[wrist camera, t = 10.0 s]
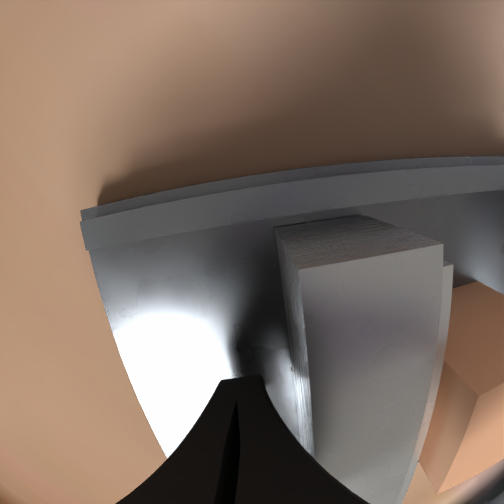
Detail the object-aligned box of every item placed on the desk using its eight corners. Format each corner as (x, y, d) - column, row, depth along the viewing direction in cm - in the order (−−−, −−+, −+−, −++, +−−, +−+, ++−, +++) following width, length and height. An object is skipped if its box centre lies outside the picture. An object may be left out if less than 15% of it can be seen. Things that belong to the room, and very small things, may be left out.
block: (477, 281, 9) (573, 336, 4) (464, 369, 10) (531, 438, 5) (387, 305, 9) (478, 395, 4) (383, 398, 10) (436, 494, 5)
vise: (539, 157, 9) (616, 163, 4) (510, 392, 12) (554, 436, 7) (91, 207, 9) (-9, 235, 4) (187, 477, 12) (175, 555, 7)
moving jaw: (375, 213, 9) (460, 240, 5) (370, 449, 11) (398, 517, 7) (274, 228, 9) (298, 270, 5) (302, 464, 11) (316, 539, 7)
